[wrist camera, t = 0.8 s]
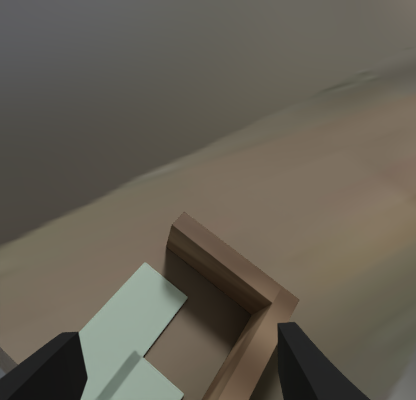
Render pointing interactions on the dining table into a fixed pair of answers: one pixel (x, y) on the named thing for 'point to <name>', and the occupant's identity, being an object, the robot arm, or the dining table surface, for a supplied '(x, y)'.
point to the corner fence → (244, 296)
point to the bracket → (6, 363)
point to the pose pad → (130, 340)
